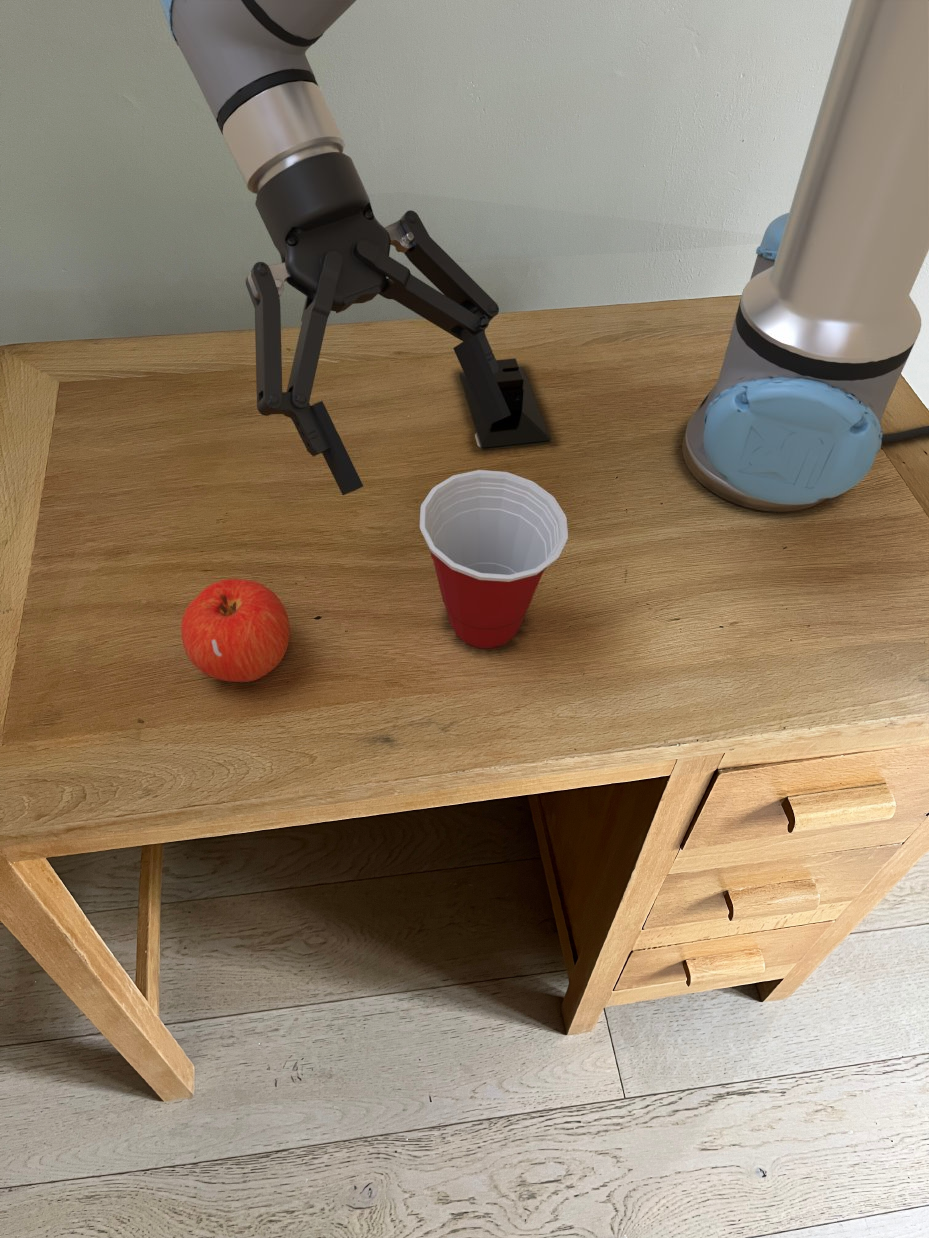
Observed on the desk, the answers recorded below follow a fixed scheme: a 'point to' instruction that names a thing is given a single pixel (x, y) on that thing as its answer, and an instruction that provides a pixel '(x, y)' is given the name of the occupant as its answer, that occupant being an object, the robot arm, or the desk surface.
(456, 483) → the plastic cup
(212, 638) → the apple
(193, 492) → the desk surface
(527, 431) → the black stand
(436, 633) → the desk surface
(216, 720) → the desk surface
